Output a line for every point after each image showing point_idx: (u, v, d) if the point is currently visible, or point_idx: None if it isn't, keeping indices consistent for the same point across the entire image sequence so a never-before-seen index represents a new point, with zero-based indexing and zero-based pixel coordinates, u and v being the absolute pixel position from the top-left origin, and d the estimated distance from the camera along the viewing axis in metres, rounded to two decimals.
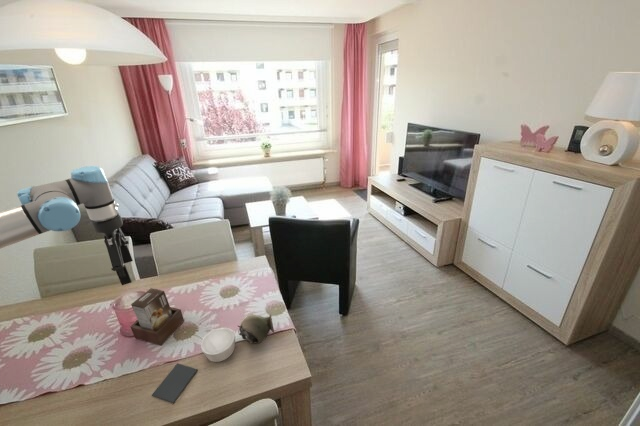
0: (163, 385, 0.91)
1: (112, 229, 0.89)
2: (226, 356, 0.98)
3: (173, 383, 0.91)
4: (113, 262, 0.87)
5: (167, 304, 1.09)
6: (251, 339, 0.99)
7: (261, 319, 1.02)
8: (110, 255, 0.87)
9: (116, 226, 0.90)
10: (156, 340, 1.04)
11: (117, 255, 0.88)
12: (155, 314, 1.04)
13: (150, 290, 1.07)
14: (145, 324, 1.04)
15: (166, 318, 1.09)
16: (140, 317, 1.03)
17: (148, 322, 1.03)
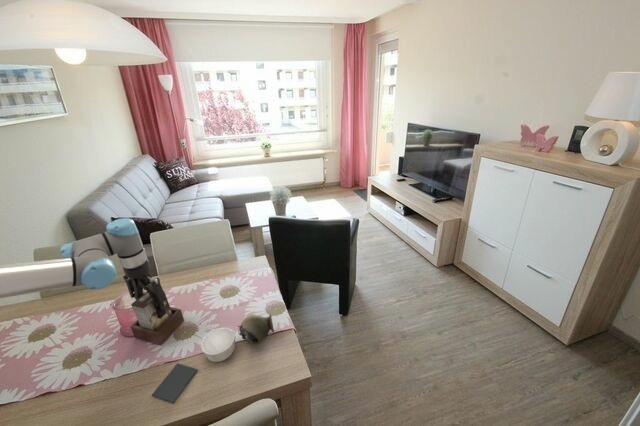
0: (163, 385, 0.91)
1: (149, 270, 0.99)
2: (226, 356, 0.98)
3: (173, 383, 0.91)
4: (160, 297, 1.01)
5: (167, 304, 1.09)
6: (251, 339, 0.99)
7: (261, 319, 1.02)
8: (158, 293, 1.00)
9: (150, 266, 1.00)
10: (156, 340, 1.04)
11: (162, 291, 1.01)
12: (155, 314, 1.04)
13: None
14: (145, 324, 1.04)
15: (166, 318, 1.09)
16: (140, 317, 1.03)
17: (148, 322, 1.03)
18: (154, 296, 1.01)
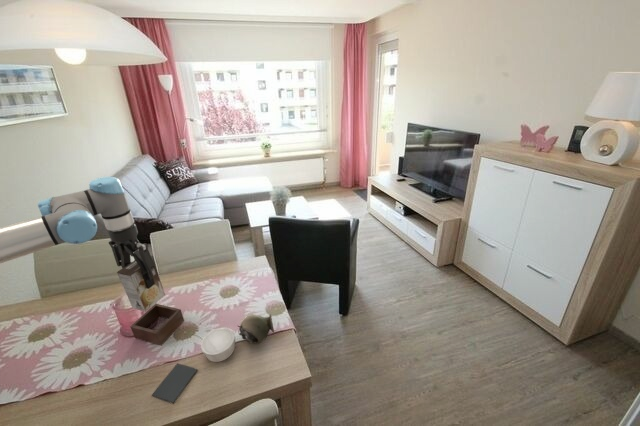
0: (163, 385, 0.91)
1: (136, 234, 0.93)
2: (226, 356, 0.98)
3: (173, 383, 0.91)
4: (148, 265, 0.95)
5: (156, 274, 1.03)
6: (251, 339, 0.99)
7: (261, 319, 1.02)
8: (145, 259, 0.94)
9: (137, 231, 0.94)
10: (156, 340, 1.04)
11: (150, 258, 0.95)
12: (143, 284, 0.98)
13: None
14: (133, 293, 0.98)
15: (155, 289, 1.03)
16: (127, 286, 0.97)
17: (135, 292, 0.97)
18: (142, 263, 0.95)
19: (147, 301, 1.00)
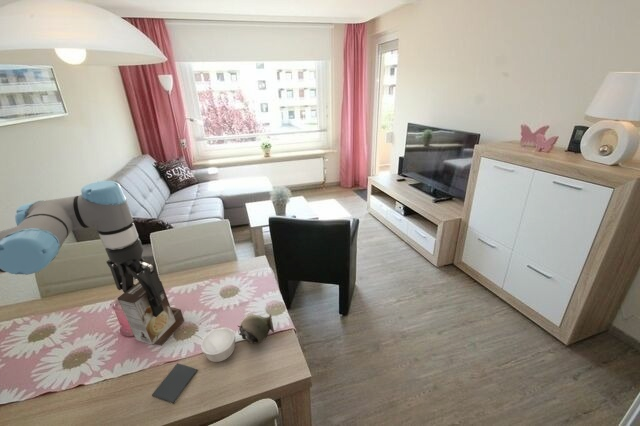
0: (163, 385, 0.91)
1: (141, 252, 0.74)
2: (226, 356, 0.98)
3: (173, 383, 0.91)
4: (156, 289, 0.77)
5: (165, 298, 0.85)
6: (251, 339, 0.99)
7: (261, 319, 1.02)
8: (153, 283, 0.75)
9: (142, 248, 0.75)
10: None
11: (158, 280, 0.77)
12: (150, 311, 0.80)
13: None
14: (137, 324, 0.79)
15: (164, 316, 0.85)
16: (129, 314, 0.78)
17: (140, 321, 0.78)
18: (148, 287, 0.77)
19: (155, 332, 0.82)
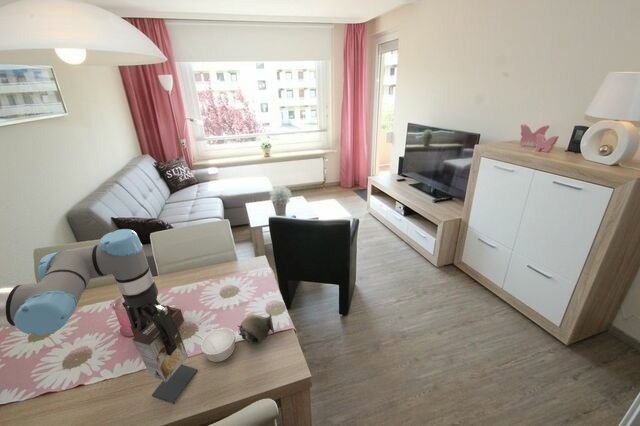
0: (163, 385, 0.91)
1: (156, 295, 0.76)
2: (226, 356, 0.98)
3: (173, 383, 0.91)
4: (171, 330, 0.78)
5: (178, 336, 0.86)
6: (251, 339, 0.99)
7: (261, 319, 1.02)
8: (167, 325, 0.77)
9: (157, 291, 0.77)
10: None
11: (172, 322, 0.79)
12: (164, 351, 0.81)
13: None
14: (151, 363, 0.81)
15: (177, 353, 0.86)
16: (144, 354, 0.80)
17: (155, 361, 0.80)
18: (162, 328, 0.79)
19: (168, 369, 0.84)
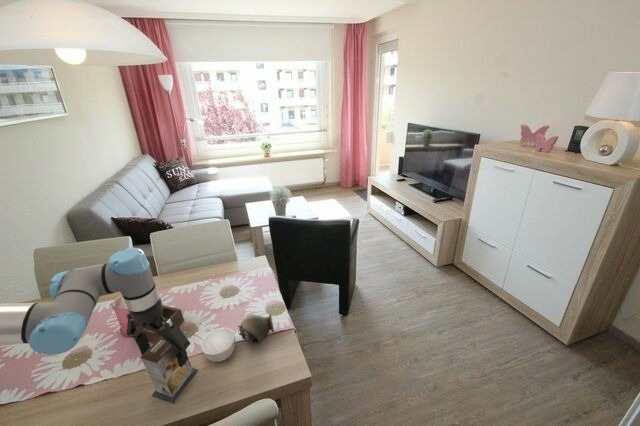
0: None
1: (161, 311, 0.78)
2: (226, 356, 0.98)
3: None
4: (181, 342, 0.79)
5: None
6: (251, 339, 0.99)
7: (261, 319, 1.02)
8: (175, 337, 0.78)
9: (162, 306, 0.79)
10: (156, 340, 1.04)
11: (181, 333, 0.80)
12: (170, 367, 0.85)
13: None
14: (158, 379, 0.84)
15: (182, 369, 0.90)
16: (152, 371, 0.83)
17: (162, 378, 0.83)
18: (172, 341, 0.80)
19: (174, 385, 0.87)
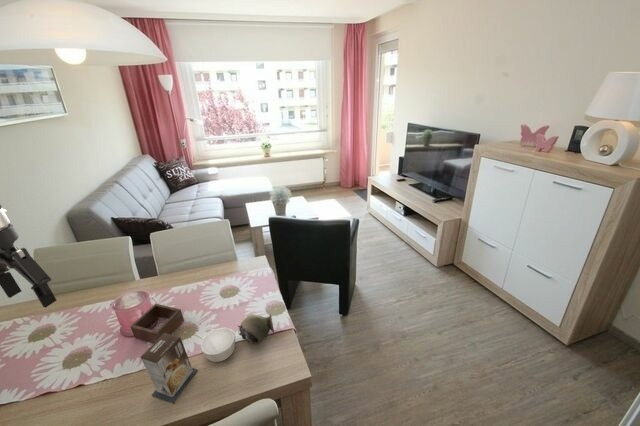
0: None
1: (12, 240, 0.69)
2: (226, 356, 0.98)
3: None
4: (36, 276, 0.70)
5: (184, 352, 0.89)
6: (251, 339, 0.99)
7: (261, 319, 1.02)
8: (28, 269, 0.69)
9: (15, 236, 0.70)
10: (156, 340, 1.04)
11: (37, 266, 0.71)
12: (170, 367, 0.85)
13: (163, 336, 0.88)
14: (158, 379, 0.84)
15: (182, 369, 0.90)
16: (152, 371, 0.83)
17: (162, 378, 0.83)
18: (27, 275, 0.71)
19: (174, 385, 0.87)
